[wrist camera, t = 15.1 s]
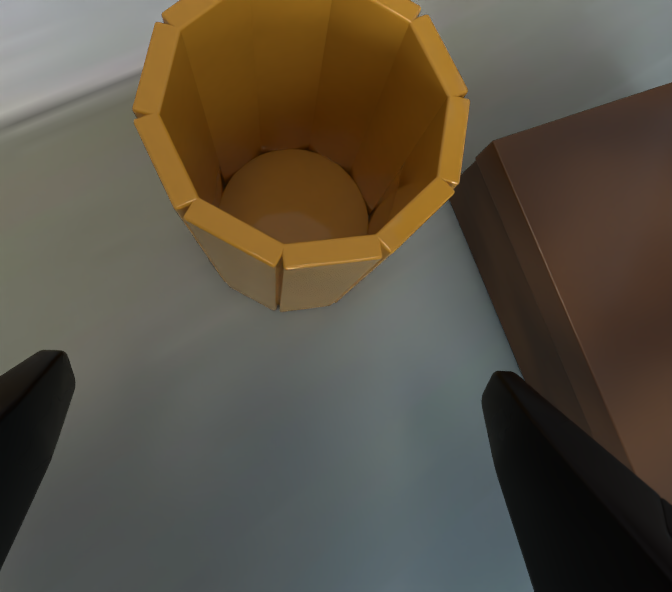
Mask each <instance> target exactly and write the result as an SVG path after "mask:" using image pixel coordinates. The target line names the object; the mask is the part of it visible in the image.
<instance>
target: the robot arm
mask: <svg viewBox="0 0 672 592" xmlns="http://www.w3.org/2000/svg"><path fill="white" fill-rule="evenodd" d="M74 390H75V377H74V374H73V371H72V368H71V364H70V361H69V358H68V356H67V354H66V353H65V352H64V351H61V350H41V351H39V352H37V353H35V354H34V355H32V356H31V357H29V358H28V359H26V360H24V361H23V362H21V363H20V364H18V365H17V366H15V367H14V368H12V369H10V370H9V371H7V372H6V373H4V374H3V375H1V376H0V570H1V568H2V565H3V563H4V561H5V559H6V557H7V555H8V553H9V550H10V548H11V546H12V544H13V542H14V540H15V537H16V535H17V533H18V531H19V529H20V527H21V525H22V522H23V520H24V518H25V516H26V514H27V512H28V509H29V507H30V505H31V503H32V501H33V499H34V497H35V494H36V492H37V490H38V488H39V486H40V484H41V481H42V479H43V477H44V475H45V473H46V470H47V468H48V466H49V464H50V461H51V459H52V456H53V453H54V450H55V447H56V444H57V441H58V438H59V435H60V432H61V429H62V426H63V423H64V420H65V417H66V414H67V411H68V408H69V405H70V402H71V399H72V396H73V393H74ZM482 409H483V414H484V419H485V424H486V428H487V433H488V438H489V443H490V448H491V453H492V457H493V462H494V466H495V470H496V473H497V477H498V480H499V483H500V486H501V489H502V492H503V495H504V499H505V502H506V505H507V508H508V511H509V514H510V517H511V520H512V524H513V527H514V530H515V533H516V536H517V539H518V542H519V545H520V549H521V552H522V555H523V558H524V561H525V564H526V567H527V570H528V573H529V577H530V580H531V583H532V586H533V589H534V592H672V505H671V504H670V503H669V502H668V501H667V500H665V499H664V498H660V495H659V494H658V493H657V492H656V491H655V490H653V489H652V488H651V487H650V486H649V485H647V484H646V483H645V482H644V481H643V480H642V479H640V478H639V477H638V476H637V475H636V474H634V473H633V472H632V471H631V470H630V469H628V468H627V467H626V466H625V465H624V464H623V463H621V462H620V461H619V460H618V459H617V458H615V457H614V456H613V455H612V454H611V453H609V452H608V451H607V450H606V449H605V448H604V447H602V446H601V445H600V444H599V443H598V442H596V441H595V440H594V439H593V438H592V437H591V436H589V435H588V434H587V433H586V432H585V431H583V430H582V429H581V428H580V427H579V426H577V425H576V424H575V423H574V422H573V421H572V420H570V419H569V418H568V417H567V416H566V415H564V414H563V413H562V412H561V411H560V410H558V409H557V408H556V407H555V406H554V405H553V404H551V403H550V402H549V401H548V400H547V399H545V398H544V397H543V396H542V395H541V394H539V393H538V392H537V391H536V390H535V389H534V388H532V387H531V386H530V385H529V384H528V383H526V382H525V381H524V380H523V379H522V378H521V377H519V376H518V375H517V374H516V373H514V372H511V371H496V372H494V373H493V374H492V376H491V378H490V380H489V382H488V384H487V386H486V388H485V390H484V392H483V395H482Z"/></svg>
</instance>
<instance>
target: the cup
mask: <svg viewBox="0 0 672 592" xmlns="http://www.w3.org/2000/svg"><path fill="white" fill-rule="evenodd" d="M420 11H421V7H420V6H419V5H417V4H416V3H414V2H412V1H411V0H179V1H178V2H177V3H175V4H174V5H172V6H171V7H169V8H168V9H167V10H165V11H164V12H163V13H162V18H163V21H164V23H161V22H156V23H155V25H154V29H153V32H152V36H151V40H150V44H149V48H148V51H147V55H146V59H145V63H144V67H143V70H142V74H141V78H140V82H139V86H138V89H137V93H136V97H135V101H134V104H133V108H132V109H133V112H134V114H135V116H136V117H137V119H135V120H134V125H135V127H136V129H137V131H138V133H139V136H140V138H141V140H142V142H143V144H144V146H145V148H146V150H147V153H148V155H149V157H150V159H151V161H152V163H153V165H154V167H155V170H156V172H157V174H158V176H159V178H160V180H161V182H162V184H163V187H164V189H165V191H166V193H167V195H168V197H169V199H170V201H171V203H172V206H173V208H174V209H175V211H176V212H177V214H178V215H179V217H180V218H181V220H182V221H183V223H184V224H185V225H186V227H187V228H188V230H189V231H190V233H191V234H192V236H193V237H194V238H195V240H196V241H197V243H198V244H199V246H200V247H201V249H202V250H203V251H204V253H205V254H206V256H207V257H208V259H209V260H210V262H211V263H212V264H213V266H214V267H215V269H216V270H217V272H218V273H219V275H220V276H221V278H222V279H223V280H224V282H226V283H227V284H228V286H229V287H230V288H232V289H234V290H236V291H238V292H240V293H242V294H243V295H245V296H247V297H249V298H251V299H253V300H255V301H257V302H258V303H260V304H262V305H264V306H266V307H268V308H270V309H271V310H273V311H275V310H276V309H277V307H278V305H279V311H280V312H285V311H293V310H301V309H308V308H316V307H324V306H330V305H331V304H332V303H334V302H335V303H336V302H338V301H339V300H340V299H341V298H342V297H343V296H344V295H346V294H347V293H348V292H349V291H350V290H351V289H352V288H354V287H355V286H356V285H357V284H358V283H359V282H360V281H362V280H363V279H364V278H365V277H366V276H367V275H368V274H370V273H371V272H372V271H373V270H374V269H375V268H377V267H378V266H379V265H380V264H381V263H382V262H383V261H385V260H386V259H387V258H388V257H389V256H390V255H391V254H393V253H394V252H395V251H396V250H397V249H398V248H399V247H400V246H401V245H402V244H403V243H404V242H405V241H406V240H407V239H408V238H409V237H410V236H411V235H412V234H413V233H414V232H415V231H416V230H417V229H418V228H420V227H421V226H422V225H423V224H424V223H425V222H426V221H427V220H428V219H429V218H430V217H431V216H432V215H433V214H434V213H435V212H436V211H437V210H438V209H439V208H440V207H441V206H442V205H443V204H444V203H445V202H446V201H447V200H448V199H450V198H451V197H452V196H453V195H454V192H455V191H454V190H453V189H454V188H455V187H456V186H457V185H458V184H459V183H460V176H461V168H462V160H463V153H464V145H465V137H466V130H467V122H468V114H469V107H470V100H469V99H466V98H464V96H465V95H466V94H467V92H468V88H467V87H466V85H465V83H464V81H463V79H462V77H461V75H460V73H459V71H458V70H457V68H456V66H455V64H454V62H453V60H452V58H451V56H450V54H449V53H448V51H447V49H446V47H445V45H444V43H443V41H442V39H441V37H440V36H439V34H438V32H437V30H436V28H435V26H434V24H433V22H432V20H431V18H430V17H429V15H428V14H426V15H423V16H420V17H418V16H419V14H420Z"/></svg>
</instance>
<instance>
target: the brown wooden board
mask: <svg viewBox="0 0 672 592" xmlns="http://www.w3.org/2000/svg"><path fill="white" fill-rule="evenodd" d="M453 190H454V191H455V192H454V195H453V196H452V197H451V198H450V199H449V200H450V202H451V204H452V207H453V209H454V212H455V214H456V216H457V219H458V221H459V224H460V226H461V228H462V231H463V233H464V236H465V238H466V240H467V243H468V245H469V248H470V250H471V252H472V255H473V257H474V260H475V262H476V264H477V267H478V269H479V272H480V274H481V276H482V279H483V281H484V284H485V286H486V288H487V291H488V293H489V296H490V298H491V300H492V303H493V305H494V308H495V310H496V313H497V315H498V317H499V320H500V322H501V325H502V327H503V329H504V332H505V334H506V337H507V339H508V341H509V344H510V346H511V349H512V351H513V353H514V356H515V358H516V361H517V363H518V365H519V368H520V370H521V373H522V375H523V377H524V380H525V382H526V383H528V384H529V385H530V386H531V387H532V388H534V389H535V390H536V391H537V392H538V393H539V394H541V395H542V396H543V397H544V398H545V399H547V400H548V401H549V402H550V403H551V404H553V405H554V406H555V407H556V408H557V409H558V410H560V411H561V412H562V413H563V414H564V415H566V416H567V417H568V418H569V419H570V420H572V421H573V422H574V423H575V424H576V425H577V426H579V427H580V428H581V429H582V430H583V431H585V432H586V433H587V434H588V435H589V436H591V437H592V438H593V439H594V440H595V441H596V442H598V443H599V444H600V445H601V446H602V447H604V448H605V449H606V450H607V451H608V452H609V453H611V454H612V455H613V456H614V457H615V458H617V459H618V460H619V461H620V462H621V463H623V464H624V465H625V466H626V467H627V468H628V469H630V470H631V471H632V472H633V473H634V474H636V475H637V476H638V477H639V478H640V479H642V480H643V481H644V482H645V483H646V484H647V485H649V486H650V487H651V488H652V489H653V490H655V491H656V492H657V493H658V494H659V495H660V498H664V499H665V500H667V501H668V502H669V503H670V504H671V505H672V82H671V83H668V84H665V85H662V86H659V87H656V88H653V89H650V90H647V91H644V92H641V93H637V94H634V95H631V96H628V97H625V98H622V99H619V100H616V101H613V102H610V103H607V104H604V105H601V106H598V107H594V108H591V109H588V110H585V111H582V112H579V113H576V114H573V115H570V116H567V117H564V118H561V119H558V120H555V121H551V122H548V123H545V124H542V125H539V126H536V127H533V128H530V129H527V130H524V131H521V132H518V133H515V134H512V135H508V136H505V137H502V138H499V139H496V140H493V141H492V142H491V143H490V144H489V145H488V146H487V147H486V148H485V149H484V150H483V151H482V152H481V153H480V154H479V155H478V156H477V157H476V161H475V162H474V163H473V164H472V165H471V166H470V167H469V168H468V169H467V170H466V171H465V172H464V173H463V174H461V176H460V183H459V184H458V185H457V186H456V187H455V188H454V189H453Z"/></svg>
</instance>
